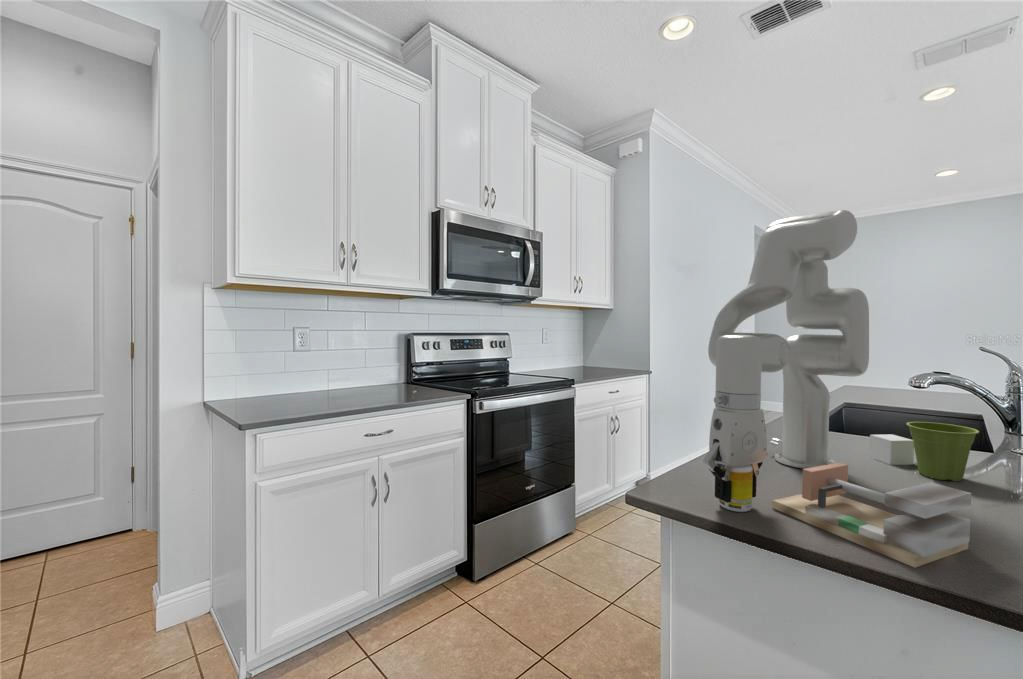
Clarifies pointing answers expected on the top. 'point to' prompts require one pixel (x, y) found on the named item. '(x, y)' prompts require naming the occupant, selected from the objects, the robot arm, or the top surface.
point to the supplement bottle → (740, 489)
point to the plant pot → (941, 449)
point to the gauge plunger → (833, 484)
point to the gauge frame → (893, 521)
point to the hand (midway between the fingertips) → (735, 496)
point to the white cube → (892, 449)
